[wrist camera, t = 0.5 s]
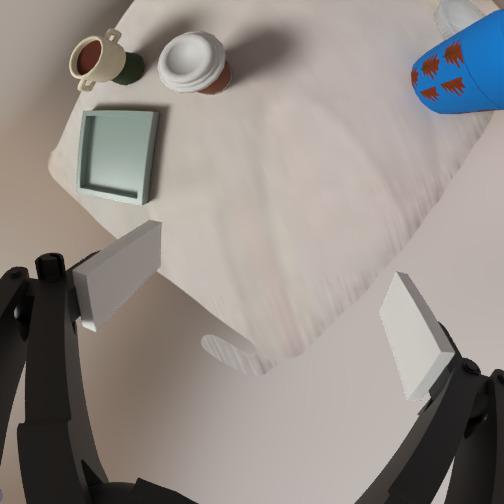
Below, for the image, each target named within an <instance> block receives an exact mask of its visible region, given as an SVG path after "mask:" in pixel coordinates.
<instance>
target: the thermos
mask: <svg viewBox="0 0 504 504" xmlns="http://www.w3.org/2000/svg"><path fill="white" fill-rule="evenodd" d="M411 78H412V85H413V87H414V90H415V93H416V94H417V96H418V97H419V99H420V100H421V101H422V103H423V104H425V105H426V106H427V107H428V108H429V109H430V110H433V111H435V112H437V113H439V114H461V113H470V112H480V111H492V110H504V9H501V10H497V11H494V12H493V13H491V14H489V15H487V16H485V17H484V18H482V19H480V20H478V21H477V22H475V23H473V24H471V25H470V26H468V27H466V28H465V29H463V30H461V31H460V32H458V33H456V34H455V35H453V36H451V37H450V38H448V39H447V40H445V41H443V42H442V43H440V44H439V45H437V46H436V47H434V48H433V49H431V50H429V51H428V52H427V53H425V54H424V55H423V56H422V57H421V58H419V59H418V61H417V62H416V63H415V64H414V65H413V68H412V72H411Z"/></svg>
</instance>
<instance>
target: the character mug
mask: <svg viewBox="0 0 504 504" xmlns="http://www.w3.org/2000/svg"><path fill="white" fill-rule="evenodd" d="M111 35H114V36H115V37H114V38H113V40H112V41H110V40H109V38H110V36H111ZM121 35H122V34H121V32H119V31H117V30H115V29H112V28H111V29H109V30H108V31H107V32H106V34H105V35H104V37H100V36H90V37H87V38H86V39H84V40H82V41H81V42H80V43H79V44H78V45H77V46H76V48H75V49H74V51H73V53H72V55H71V59H70V65H69V67H70V72H71V74H72V75H73V76H74V77H75V78H78V79H81V81H80V83H79V85H78V90H79V91H86V92H89V91H91V90H92V89H93V87H94V85H95V83H96V82H102V83H103V82H107V81H110V80H111V81H113V82H115V83H118V84H120V85H128V84H131V83H133V82H135V81H136V80H137V79H138V78H139V77H140V75H141V74H142V72H143V65H144V63H143V61H142V58H141V57H140V56H139V55H137V54H134V53H129V52H125V51H124V49H123V47H122V46H120V45H119V44H117V42H118V41H119V39H120V37H121ZM87 80H90V83H89V85H88V86H85V83H86V81H87Z"/></svg>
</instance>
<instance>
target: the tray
mask: <svg viewBox="0 0 504 504" xmlns="http://www.w3.org/2000/svg"><path fill="white" fill-rule="evenodd" d="M159 117H160V113H158V112H150V111H120V110H97V111H83V115H82V122H81V130H80V139H79V150H78V163H77V182H76V192H78V193H83V194H88V195H93V196H98V197H103V198H108V199H113V200H117V201H122V202H127V203H132V204H137V205H141V206H142V205H144V204H146V203H148V202H149V192H150V182H151V173H152V165H153V157H154V149H155V142H156V136H157V129H158V123H159Z"/></svg>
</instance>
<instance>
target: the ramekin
mask: <svg viewBox="0 0 504 504" xmlns="http://www.w3.org/2000/svg"><path fill="white" fill-rule="evenodd" d="M482 18H484V17H483V15H482V14H481V13H480V11H479V10H478V9H477V8H476V7H475V6H474V5H472V4H471V3H470V2H468V1H467V0H441V1H440V4H439V6H438V8H437V10H436V12H435V23H436V26H437V28H438V30H439V32H440V33H441V35H442V36H443V37H444V39H445V40H447V39H448V38H450V37H451V36H453V35H455V34H456V33H458V32H460V31H461V30H463V29H465V28H466V27H468V26H470V25H471V24H473V23H475V22H477V21H478V20H480V19H482Z"/></svg>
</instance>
